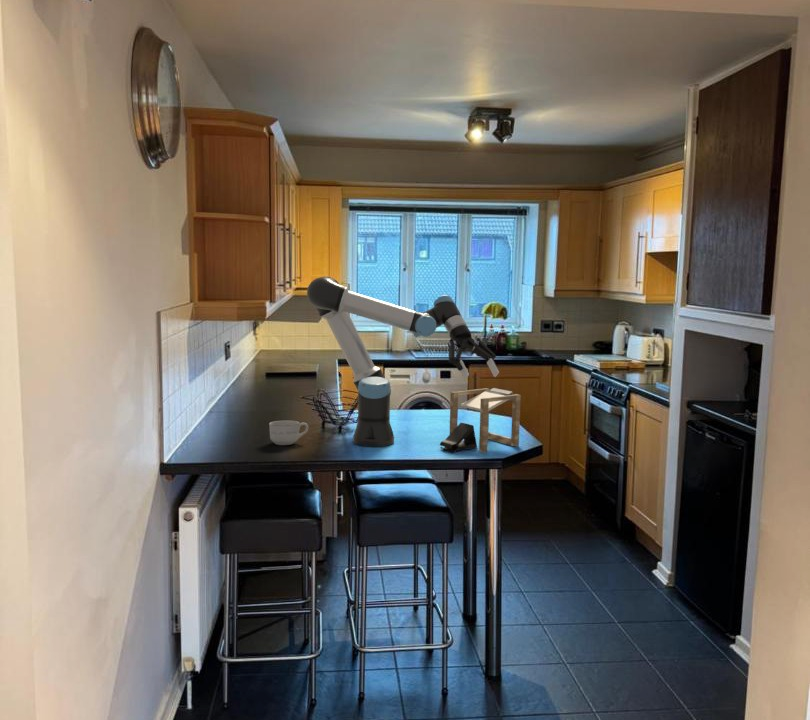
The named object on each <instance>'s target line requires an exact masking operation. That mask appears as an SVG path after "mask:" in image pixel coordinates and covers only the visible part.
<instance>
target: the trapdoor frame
mask: <svg viewBox="0 0 810 720" xmlns="http://www.w3.org/2000/svg"><path fill="white" fill-rule="evenodd" d="M489 390H491V389H490V388H488V387H487V388H486V387H485V388H477V389H467V390H461V391H450V397H449V398H450V401H449V402H450V403H449V435H450V434H451V433H452V432H453V431H454V429H455V428H456V427H457V426H458V418H459V417H458V415H459V396H464V395H465V396H466V395H474V394H481V393H483V392H485V391H489ZM521 397H522V396H521V394H518V393H515V394H514V393H513V395H508V396H500V397H492V398H482V399H481V404H480V411H479V438H478V440H479V443H478V452H479V453H481V452H482V454H484V452H485V453H487V452H488V440H489V439H490V441H493V440H494V441H493V442H497V443H501V444H505V445H507V444H508V445H507V446H510V447H513V446H517V447H520V446H519V445H520V426H521V425H520V424H521V422H520V421H521V399H522V398H521ZM509 399H513V400H512V409H511V410H512V413H511V433H510V434H511V435H510V436H511V437H508V436H505V435H501V434H498V433H494V432H491V431H489V429H490V428H489V423H490V410H489V411H488V408H489V402H493V401H501V400H509ZM449 435H448V436H449Z"/></svg>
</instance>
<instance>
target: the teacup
mask: <svg viewBox="0 0 810 720" xmlns="http://www.w3.org/2000/svg"><path fill="white" fill-rule="evenodd" d="M268 425H269V438H270V441H271V442H273V443H274V444H275V445H276V446H289V445H293V444H295V443H296V442H297V441H298V439H300V438H301V437H302V436H304V435H305V434H306V433H307V432H308V431H309V425H308V423H306V422H299V421H298V420H297V421H296V420H275V421H271V422H269V424H268ZM302 426H304V427H305V429H304V431H302V432H300V430H301V427H302Z"/></svg>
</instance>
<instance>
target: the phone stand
mask: <svg viewBox="0 0 810 720" xmlns="http://www.w3.org/2000/svg"><path fill="white" fill-rule="evenodd" d="M449 434H450V433H449ZM439 446H441V447H440V449H441V450H444V451H448V452H451V453H456V452H457V451H461V450H472V449H473V450H474V449H477V448H478V445H477V438H476V433H475V428H474V425H473V424H469V423H465V422H459V424H457V427H456V428H455V429H454V431H453V432H452V433H451V434H450V435H448V436H447V437H446V439H444V440H441V441H440V443H439Z"/></svg>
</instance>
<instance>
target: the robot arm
mask: <svg viewBox="0 0 810 720" xmlns="http://www.w3.org/2000/svg"><path fill="white" fill-rule="evenodd" d="M306 295H307V299H308V301H309V303H310V304H311V306H312V307H315V309H316V312H317V313H318V315H319V317H320V318H321V319H323V320H325V321H326V322H327V324H328V326H329V328H330V330H331V332H332V334H333V335H334V339H335V340H336V342H337V344H338V346H339V348H340V350H341V352H342V354H343V356H344V358H345V360H346V361H347V363H348V366H349V367H350V370H351V371H352V374H353V379H352V382H353V384H354V387H355V388H356V390H357V392H358V393H357V394H358V397H357V399H358V400H357V402H358V404H357V405H358V406H357V423H356V426H355V429H354V433H353V435H352V442H353V444H354V445H357V446H363V447H371V448H372V447H373V448H374V447H375V448H376V447H378V448H379V447H387V446H391V445H393V444H395V435H394V432H393V428H392V426H391V420H390V417H391V415H390V414H391V394H392V388H391V387H392V386H391V382H390V381H389V379H387V378H386V377H385V376H384V373H383V371H382V369H381V368H380V367H379V366H376V365H375V364H374V362H373V360H372V358H371V355H370V354H369V352H368V349H367V348H366V346H365V344H364V341H363V340H362V338H361V336H360V334H359V332H358V329H357V327H356V326H355V324H354V321H353V320H352V318H351V315H350V314H352V315H355V316H359V317H362V318H365V319H369V320H372V321H375V322H378V323H382V324H385V325H389V326H392V327H395V328H398V329H401V330H405V331H408V332H411V333H412V335H413V336H414V338H419V337H421V336H422V337H429V336H432V335H433V334H434V333H436V332H435V331H437V328H439V327H441V326H444V328H445V330H446V332H447V334H448V336H449V338H450V339H449V341H448V342H447V346H448V363H449V364H452V365H453V366H455V367H456V368H457V371H459V372H460V374H461V376H462V378H463V379H464V380H466V379H468V377H469V376H470V373H469V371H468V369H467V367H466V365H465V363H464V361H463V360H462V359H461V357H462V356H461V355H462V353H463V352H465V353H466V352H471V353H473V354H474V353H475V354H476V355H477V356H479V357H480V358H482V359H483V360H485V361H486V365H487V366H488V368H489V370H490V371H491V374H492V376H493V377H494V378H496V377H497V376H498V375H499V373H500V371H499V369H498V367H497V363H496V362H495V359H496V357H497V355H496V354H495V352H494V351H492V350H491V349H490V348H489V347H488V346H487V345H486V344H484V343H483V341H482V340H481V339H480V337H477V338H476V339H474V338H473V337H472V332H471V331H470V329H469V327H468V325H467V322H466V321H465V319H464V318H463V316H462V314H461V311H460V310H459V308H458V306H457V304H456V302H455V301H454V300H453V298H452V297H451V296H450V295H447V294H442V295H440V296H438V297H437V299H435V300H434V302H433V306H432V307H431V308H430V309H428V310H425V311H424V312H422V313H421V312H420V311H415V310H412V309H409V308H405V307H404V306H403V307H402V306H400V305H395V304H393V303H391V302H386V301H383V300H380V299H376V298H373V297H370V296H367V295H363V294H361V293H357V292H354V291H350V290H349V289H348V287H347V286H344V285H342V284H340V282H338V281H337V280H336V279H335V278H333V277H331V276H321V277H317V278H314V279H313V280H312V281H311V282H310V283H309V284H308V286H307V289H306ZM455 347H456V348H457V350H456V348H455ZM455 352H456V353H455Z"/></svg>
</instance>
